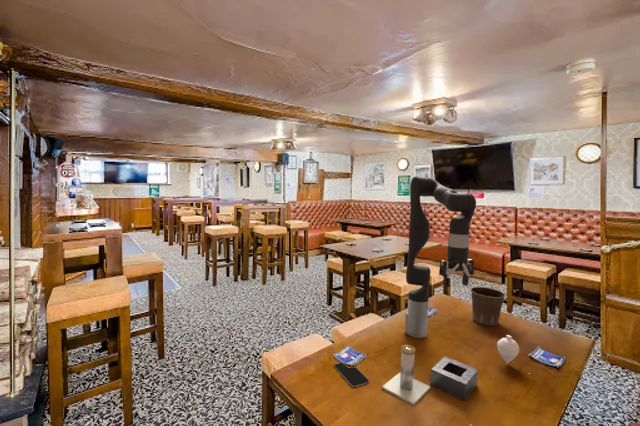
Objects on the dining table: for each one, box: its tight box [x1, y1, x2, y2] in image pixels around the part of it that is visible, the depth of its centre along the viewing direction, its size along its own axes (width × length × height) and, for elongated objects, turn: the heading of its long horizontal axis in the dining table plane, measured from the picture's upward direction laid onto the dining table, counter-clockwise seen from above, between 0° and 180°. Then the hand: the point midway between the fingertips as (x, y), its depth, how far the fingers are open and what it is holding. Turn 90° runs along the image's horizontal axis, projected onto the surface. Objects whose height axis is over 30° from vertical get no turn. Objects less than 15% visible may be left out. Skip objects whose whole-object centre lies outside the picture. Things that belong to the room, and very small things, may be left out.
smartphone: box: [333, 362, 370, 388], centre depth 119 cm, size 7×1×15 cm
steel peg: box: [399, 344, 416, 391], centre depth 111 cm, size 5×5×14 cm
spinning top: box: [496, 334, 520, 365], centre depth 127 cm, size 8×8×12 cm
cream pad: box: [382, 372, 431, 406], centre depth 111 cm, size 12×12×1 cm
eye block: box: [429, 356, 479, 402], centre depth 113 cm, size 12×12×6 cm
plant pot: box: [470, 286, 506, 327], centre depth 167 cm, size 16×16×16 cm
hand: (455, 286), depth 124 cm, fingers open, 8 cm apart
